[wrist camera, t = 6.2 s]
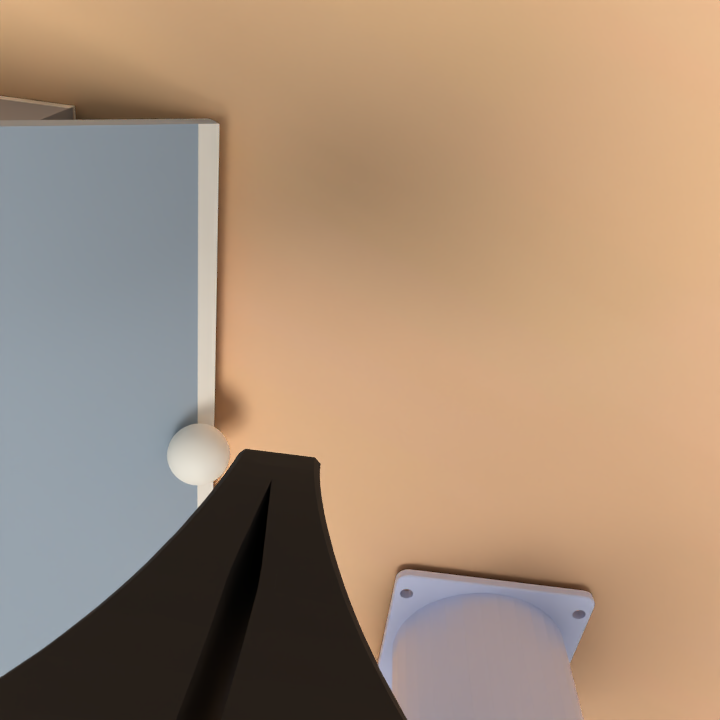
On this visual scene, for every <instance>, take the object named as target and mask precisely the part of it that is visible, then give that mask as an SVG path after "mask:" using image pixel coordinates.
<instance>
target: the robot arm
mask: <svg viewBox="0 0 720 720" xmlns="http://www.w3.org/2000/svg"><path fill="white" fill-rule="evenodd" d="M404 589H409V590H406V591H405V590H404ZM594 606H595V602H594V599H593V596H592V594H591V593H589V592H587V591H584V590H576V589H567V588H559V587H551V586H543V585H535V584H526V583H518V582H510V581H502V580H493V579H485V578H477V577H469V576H461V575H452V574H444V573H436V572H428V571H420V570H411V569H405V570H402V571H400V572H399V573H398V574H397V576H396V579H395V583H394V588H393V593H392V598H391V603H390V607H389V612H388V617H387V622H386V626H385V631H384V636H383V641H382V645H381V650H380V655H379V660H378V664H377V662H376V660H375V658H374V656H373V654H372V652H371V650H370V647H369V645H368V643H367V641H366V639H365V637H364V634H363V632H362V630H361V627H360V625H359V623H358V620H357V618H356V615H355V613H354V610H353V608H352V605H351V603H350V600H349V597H348V595H347V592H346V589H345V586H344V583H343V580H342V577H341V574H340V571H339V568H338V565H337V562H336V558H335V555H334V552H333V548H332V544H331V540H330V536H329V532H328V528H327V524H326V520H325V515H324V509H323V503H322V497H321V489H320V463H319V462H318V461H317V459H316V458H314V457H306V456H298V455H290V454H282V453H274V452H266V451H258V450H250V449H245V450H243V451H242V452H240V453H239V454H238V456H237V457H236V459H235V460H234V462H233V463H232V465H231V466H230V468H229V469H228V470H227V472H226V473H225V475H224V476H223V477H222V479H221V480H220V481H219V483H218V484H217V485H216V486H215V488H214V489H213V490H212V491H211V493H210V494H209V495H208V496H207V498H206V499H205V500H204V501H203V502H202V504H201V505H200V506H199V507H198V508H197V509H196V510H195V512H194V513H193V514H192V515H191V516H190V517H189V519H188V520H187V521H186V522H185V523H184V524H183V525H182V527H181V528H180V529H179V530H178V531H177V532H176V533H175V534H174V535H173V536H172V537H171V538H170V539H169V540H168V541H167V542H166V543H165V544H164V545H163V546H162V547H161V548H160V549H159V550H158V551H157V553H156V554H155V555H154V556H153V557H152V558H151V559H150V560H149V561H148V562H147V563H146V564H145V565H144V566H143V567H141V568H140V569H139V570H138V571H137V572H136V573H135V574H134V575H133V576H132V577H131V578H130V579H129V580H127V581H126V582H125V583H124V584H123V585H122V586H121V587H120V588H119V589H117V590H116V591H115V592H114V593H113V594H112V595H110V596H109V597H108V598H107V599H106V600H105V601H103V602H102V603H101V604H100V605H99V606H97V607H96V608H95V609H94V610H92V611H91V612H90V613H89V614H87V615H86V616H85V617H84V618H82V619H81V620H80V621H79V622H77V623H76V624H75V625H73V626H72V627H71V628H70V629H68V630H67V631H66V632H65V633H63V634H62V635H61V636H59V637H58V638H57V639H55V640H54V641H52V642H51V643H50V644H48V645H47V646H46V647H44V648H43V649H41V650H40V651H39V652H37V653H36V654H34V655H33V656H31V657H30V658H28V659H27V660H25V661H24V662H22V663H21V664H19V665H18V666H16V667H15V668H13V669H12V670H10V671H9V672H7V673H6V674H4V675H3V676H1V677H0V720H584V718H583V714H582V710H581V707H580V703H579V699H578V695H577V691H576V687H575V683H574V679H573V675H572V671H571V667H570V662H571V660H572V658H573V655H574V653H575V651H576V648H577V646H578V644H579V641H580V639H581V637H582V634H583V632H584V630H585V627H586V625H587V623H588V620H589V618H590V616H591V613H592V611H593V609H594ZM577 610H579V611H577Z"/></svg>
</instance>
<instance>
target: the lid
mask: <svg viewBox="0 0 720 720" xmlns="http://www.w3.org/2000/svg"><path fill="white" fill-rule="evenodd" d="M218 179H219V123H217V122H215V121H213V120H211V119H209V118H201V119H105V120H0V677H1V676H3V675H4V674H6V673H7V672H9V671H10V670H12V669H13V668H15V667H16V666H18V665H19V664H21V663H22V662H24V661H25V660H27V659H28V658H30V657H31V656H33V655H34V654H36V653H37V652H39V651H40V650H41V649H43V648H44V647H46V646H47V645H48V644H50V643H51V642H52V641H54V640H55V639H57V638H58V637H59V636H61V635H62V634H63V633H65V632H66V631H67V630H68V629H70V628H71V627H72V626H73V625H75V624H76V623H77V622H79V621H80V620H81V619H82V618H84V617H85V616H86V615H87V614H89V613H90V612H91V611H92V610H94V609H95V608H96V607H97V606H99V605H100V604H101V603H102V602H103V601H105V600H106V599H107V598H108V597H109V596H110V595H112V594H113V593H114V592H115V591H116V590H117V589H119V588H120V587H121V586H122V585H123V584H124V583H125V582H126V581H127V580H129V579H130V578H131V577H132V576H133V575H134V574H135V573H136V572H137V571H138V570H139V569H140V568H141V567H143V566H144V565H145V564H146V563H147V562H148V561H149V560H150V559H151V558H152V557H153V556H154V555H155V554H156V553H157V551H158V550H159V549H160V548H161V547H162V546H163V545H164V544H165V543H166V542H167V541H168V540H169V539H170V538H171V537H172V536H173V535H174V534H175V533H176V532H177V531H178V530H179V529H180V528H181V527H182V525H183V524H184V523H185V522H186V521H187V520H188V519H189V517H190V516H191V515H192V514H193V513H194V512H195V510H196V509H197V508H198V507H199V506H200V505H201V504H202V502H203V501H204V500H205V499H206V498H207V496H208V495H209V494H210V493H211V491H212V490H213V481H215V480H216V479H217V478H219V477H220V476H221V475H222V474H223V472H224V471H225V469H226V468H227V466H228V463H229V459H230V448H229V444H228V442H227V439H226V438H225V436H224V435H223V434H222V433H221V432H220V431H219V430H218V429H217V428H215V427H214V410H215V352H216V295H217V237H218Z"/></svg>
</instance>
